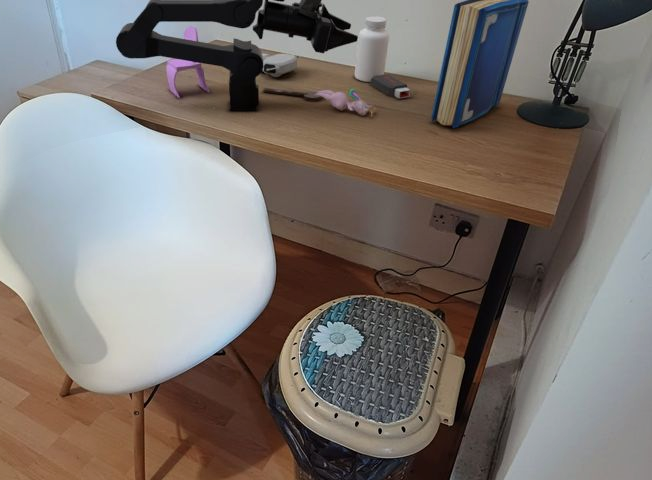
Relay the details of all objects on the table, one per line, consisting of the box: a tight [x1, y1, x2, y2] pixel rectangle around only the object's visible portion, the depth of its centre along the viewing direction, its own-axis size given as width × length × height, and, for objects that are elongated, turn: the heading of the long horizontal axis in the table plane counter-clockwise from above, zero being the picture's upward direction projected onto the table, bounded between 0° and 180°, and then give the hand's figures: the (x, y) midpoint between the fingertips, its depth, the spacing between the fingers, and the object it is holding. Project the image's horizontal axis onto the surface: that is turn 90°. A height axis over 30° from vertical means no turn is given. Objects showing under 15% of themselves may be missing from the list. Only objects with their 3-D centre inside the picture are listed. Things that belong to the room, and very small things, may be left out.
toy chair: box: [165, 25, 210, 99], centre depth 129 cm, size 8×9×15 cm
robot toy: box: [261, 52, 303, 78], centre depth 146 cm, size 12×4×15 cm
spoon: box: [262, 87, 322, 102], centre depth 133 cm, size 15×4×1 cm, turn 73°
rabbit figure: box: [314, 87, 377, 117], centre depth 124 cm, size 6×6×15 cm
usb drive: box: [370, 73, 411, 100], centre depth 136 cm, size 5×12×3 cm, turn 24°
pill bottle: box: [354, 15, 390, 83], centre depth 139 cm, size 8×8×15 cm
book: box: [430, 0, 529, 129], centre depth 117 cm, size 22×7×25 cm, turn 134°
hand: (353, 32), depth 118 cm, fingers open, 9 cm apart
